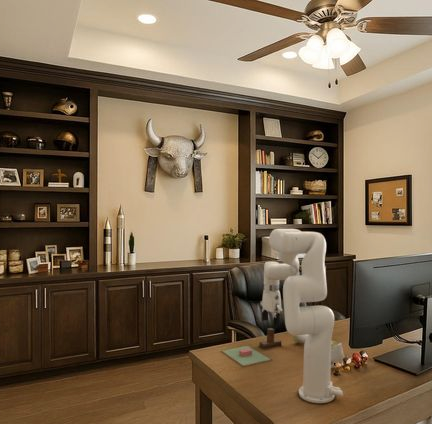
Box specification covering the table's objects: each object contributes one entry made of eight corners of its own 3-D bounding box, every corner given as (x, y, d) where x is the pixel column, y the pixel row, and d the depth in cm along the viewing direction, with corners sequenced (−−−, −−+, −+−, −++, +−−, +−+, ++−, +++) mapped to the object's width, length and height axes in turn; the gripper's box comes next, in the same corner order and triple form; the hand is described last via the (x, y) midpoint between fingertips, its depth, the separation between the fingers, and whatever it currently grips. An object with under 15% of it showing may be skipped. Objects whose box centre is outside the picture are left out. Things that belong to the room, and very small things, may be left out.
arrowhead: (331, 370, 160) (331, 346, 160) (327, 368, 162) (327, 344, 162) (346, 366, 164) (346, 343, 164) (342, 364, 166) (342, 341, 166)
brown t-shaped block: (259, 347, 186) (259, 329, 186) (276, 343, 191) (276, 326, 191) (263, 349, 183) (264, 331, 183) (281, 346, 188) (281, 328, 188)
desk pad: (271, 360, 170) (271, 359, 170) (243, 366, 162) (243, 365, 162) (247, 346, 187) (247, 345, 187) (221, 351, 179) (221, 350, 179)
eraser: (239, 354, 174) (239, 350, 174) (248, 352, 177) (248, 348, 177) (242, 357, 172) (242, 352, 172) (252, 355, 174) (252, 350, 174)
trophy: (291, 327, 192) (331, 345, 166) (303, 325, 195) (344, 343, 169) (291, 344, 192) (331, 365, 166) (303, 342, 195) (344, 362, 169)
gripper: (288, 290, 182) (287, 326, 182) (267, 283, 196) (267, 317, 197) (275, 291, 178) (274, 329, 178) (255, 284, 192) (254, 319, 193)
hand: (270, 322), depth 187 cm, fingers open, 9 cm apart
